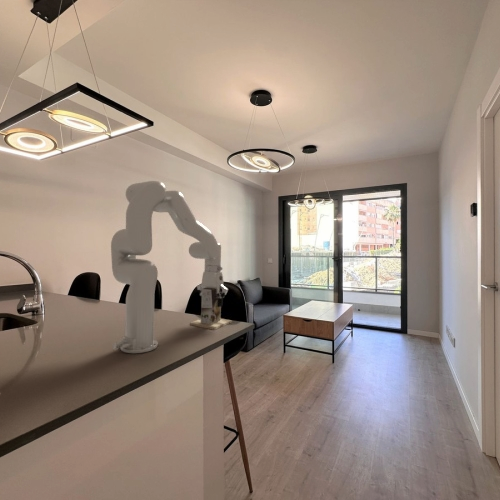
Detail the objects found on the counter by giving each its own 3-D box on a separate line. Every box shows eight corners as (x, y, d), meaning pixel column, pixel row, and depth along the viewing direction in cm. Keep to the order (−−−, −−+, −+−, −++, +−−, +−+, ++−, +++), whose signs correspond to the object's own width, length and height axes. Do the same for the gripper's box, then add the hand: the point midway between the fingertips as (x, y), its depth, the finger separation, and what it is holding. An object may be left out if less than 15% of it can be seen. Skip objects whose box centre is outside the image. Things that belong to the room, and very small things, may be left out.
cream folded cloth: (214, 329, 127) (214, 327, 127) (189, 324, 134) (189, 322, 134) (231, 322, 139) (231, 320, 139) (208, 318, 146) (208, 316, 146)
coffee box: (213, 324, 131) (214, 289, 130) (200, 323, 133) (201, 288, 132) (221, 320, 139) (222, 286, 139) (209, 318, 141) (210, 285, 141)
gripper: (232, 269, 135) (231, 306, 135) (202, 267, 143) (202, 301, 144) (223, 270, 128) (222, 309, 129) (193, 268, 137) (192, 304, 137)
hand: (211, 305), depth 136 cm, fingers open, 9 cm apart
